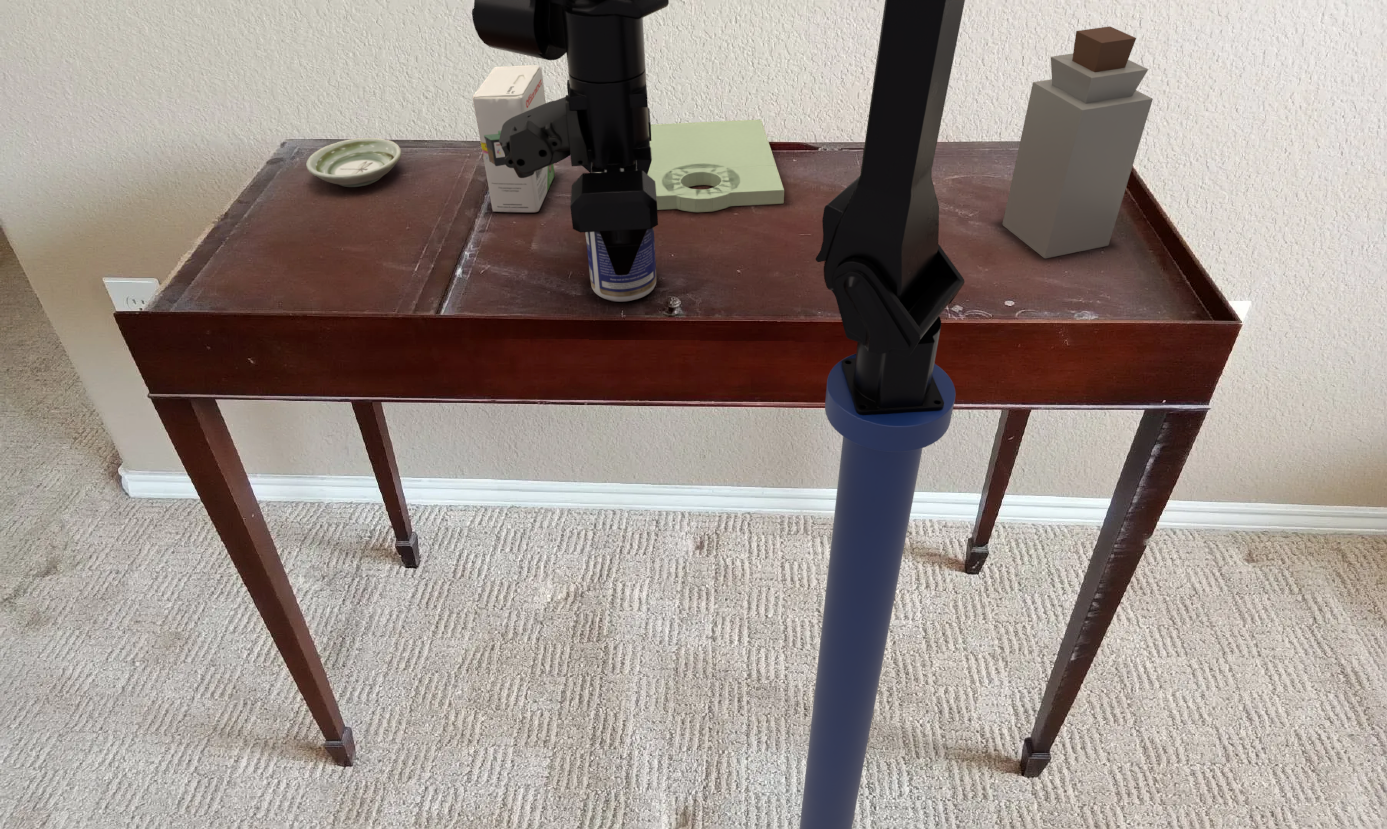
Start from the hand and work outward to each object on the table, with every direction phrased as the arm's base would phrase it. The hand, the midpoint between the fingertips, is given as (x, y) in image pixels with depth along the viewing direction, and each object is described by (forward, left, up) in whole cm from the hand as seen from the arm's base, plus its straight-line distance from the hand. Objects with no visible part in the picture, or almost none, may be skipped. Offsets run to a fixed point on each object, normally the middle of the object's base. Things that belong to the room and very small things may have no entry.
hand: (621, 255), depth 78 cm
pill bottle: (0, 0, -3) cm, 3 cm away
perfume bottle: (+5, -40, -3) cm, 40 cm away
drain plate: (+23, -8, -3) cm, 25 cm away
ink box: (+19, +10, -3) cm, 22 cm away
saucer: (+25, +28, -3) cm, 38 cm away
